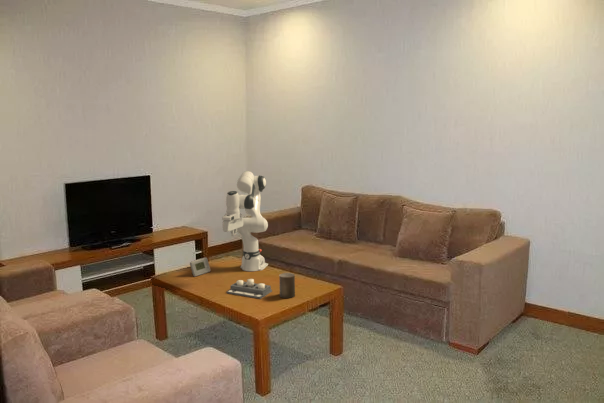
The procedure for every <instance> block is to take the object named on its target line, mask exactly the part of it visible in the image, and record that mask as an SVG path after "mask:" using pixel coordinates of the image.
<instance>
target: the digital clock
mask: <svg viewBox="0 0 604 403" xmlns="http://www.w3.org/2000/svg"><path fill="white" fill-rule="evenodd" d="M189 265H190V270H191V274H192V275H193V277H199V276H202V275H205V274H207V273H210V272H211V267H210V263H209V260H208V258H207V257H201V258H198V259H195V260H193V261H190V262H189Z"/></svg>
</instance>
